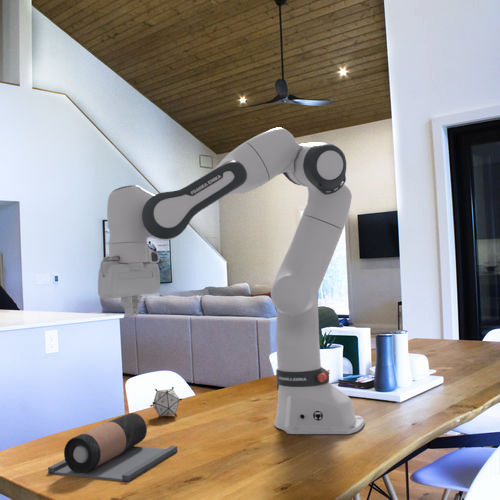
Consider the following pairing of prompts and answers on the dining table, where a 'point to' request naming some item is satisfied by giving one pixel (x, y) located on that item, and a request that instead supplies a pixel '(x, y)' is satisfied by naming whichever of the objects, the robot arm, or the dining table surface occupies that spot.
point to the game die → (166, 402)
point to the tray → (121, 464)
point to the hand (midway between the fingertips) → (132, 315)
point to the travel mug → (104, 442)
